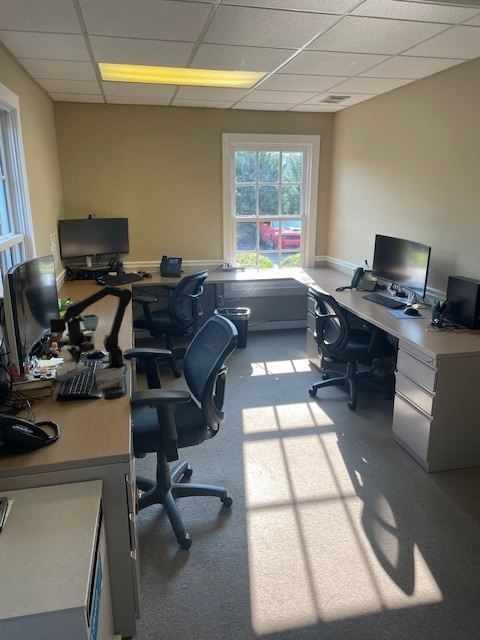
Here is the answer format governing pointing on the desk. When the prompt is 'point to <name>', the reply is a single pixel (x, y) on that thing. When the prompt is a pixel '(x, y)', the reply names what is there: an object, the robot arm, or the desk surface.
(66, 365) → the key
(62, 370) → the key
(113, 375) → the geological specimen
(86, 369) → the keypad base
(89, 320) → the flower pot
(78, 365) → the key
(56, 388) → the desk surface
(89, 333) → the skincare box
